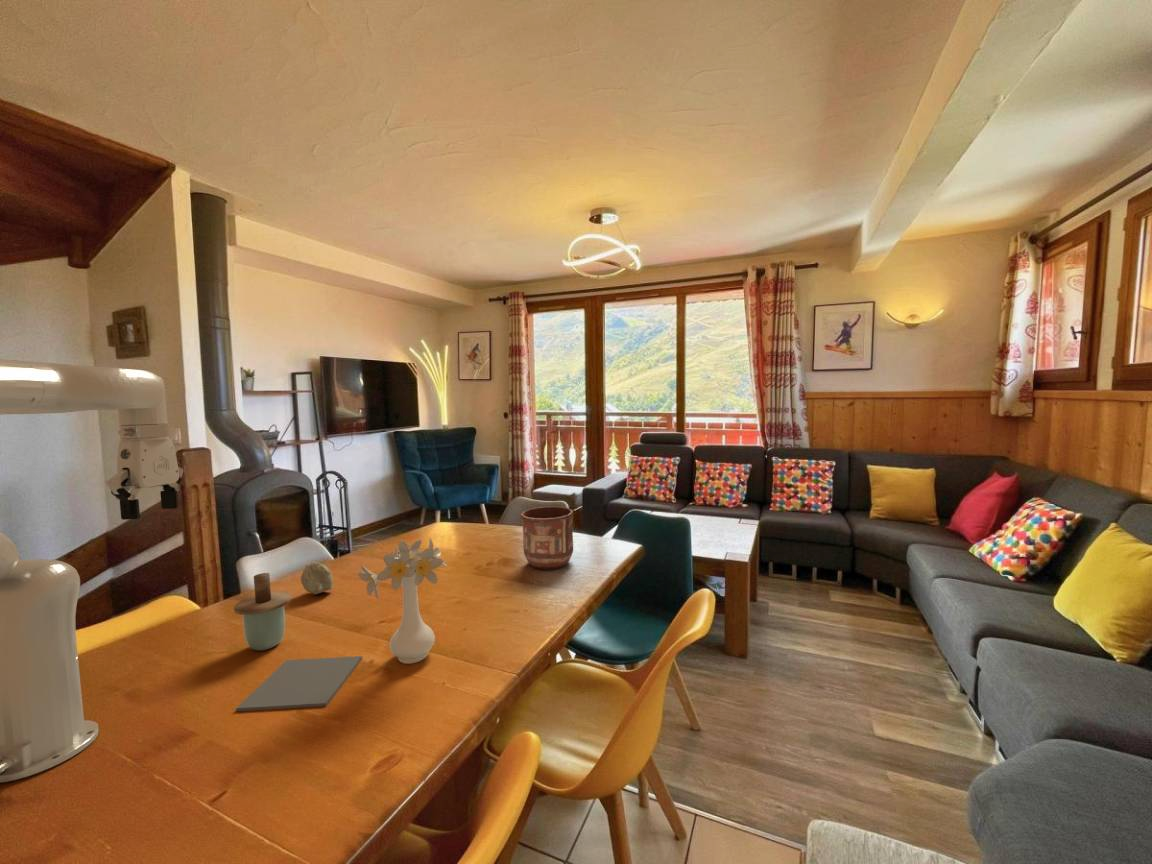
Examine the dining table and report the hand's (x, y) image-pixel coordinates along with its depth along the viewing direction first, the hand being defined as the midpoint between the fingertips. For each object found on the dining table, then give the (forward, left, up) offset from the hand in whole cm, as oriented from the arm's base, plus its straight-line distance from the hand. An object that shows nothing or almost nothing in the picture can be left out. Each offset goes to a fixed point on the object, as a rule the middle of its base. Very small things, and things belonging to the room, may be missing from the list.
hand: (151, 513), depth 99 cm
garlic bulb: (+36, -15, -34) cm, 51 cm away
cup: (+6, -18, -34) cm, 38 cm away
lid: (+6, -18, -23) cm, 30 cm away
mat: (-10, -35, -33) cm, 49 cm away
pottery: (+53, -83, -34) cm, 104 cm away
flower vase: (-3, -54, -34) cm, 64 cm away
